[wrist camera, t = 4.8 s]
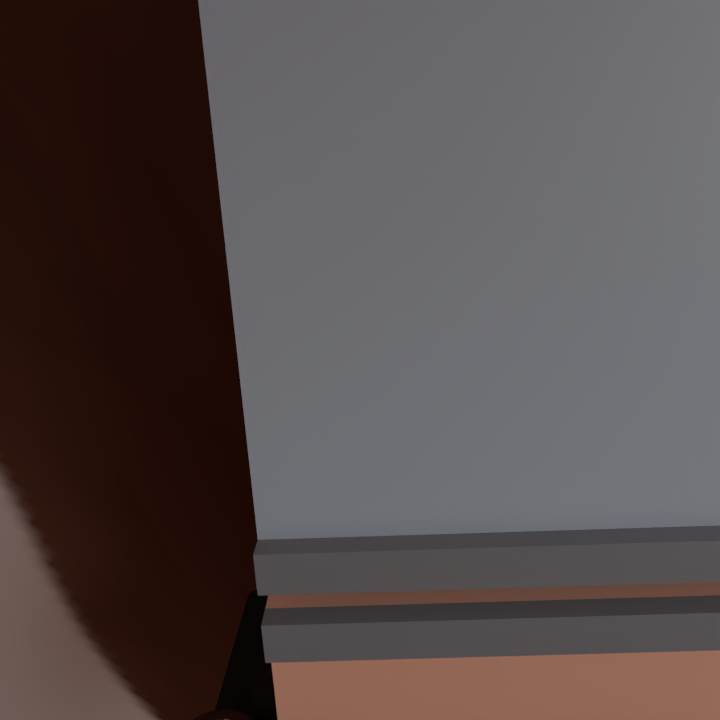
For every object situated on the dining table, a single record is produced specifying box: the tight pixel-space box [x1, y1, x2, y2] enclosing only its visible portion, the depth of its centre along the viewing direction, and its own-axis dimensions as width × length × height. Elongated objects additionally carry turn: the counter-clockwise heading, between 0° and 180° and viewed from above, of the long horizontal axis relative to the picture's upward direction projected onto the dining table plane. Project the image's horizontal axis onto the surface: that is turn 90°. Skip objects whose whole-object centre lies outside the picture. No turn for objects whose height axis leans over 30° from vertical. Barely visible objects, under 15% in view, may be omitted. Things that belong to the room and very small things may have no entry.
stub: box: [261, 582, 720, 720], centre depth 8 cm, size 7×5×6 cm
